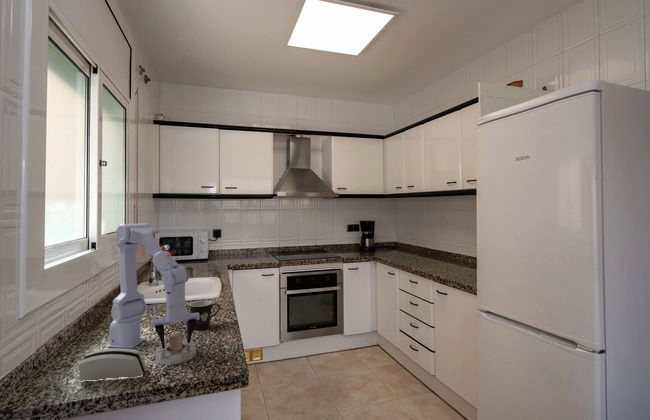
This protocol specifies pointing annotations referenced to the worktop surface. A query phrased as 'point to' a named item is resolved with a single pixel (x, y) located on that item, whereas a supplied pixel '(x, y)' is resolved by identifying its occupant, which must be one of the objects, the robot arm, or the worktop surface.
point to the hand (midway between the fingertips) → (176, 344)
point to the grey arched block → (111, 364)
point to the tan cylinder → (175, 342)
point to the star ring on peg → (176, 353)
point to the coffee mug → (203, 313)
